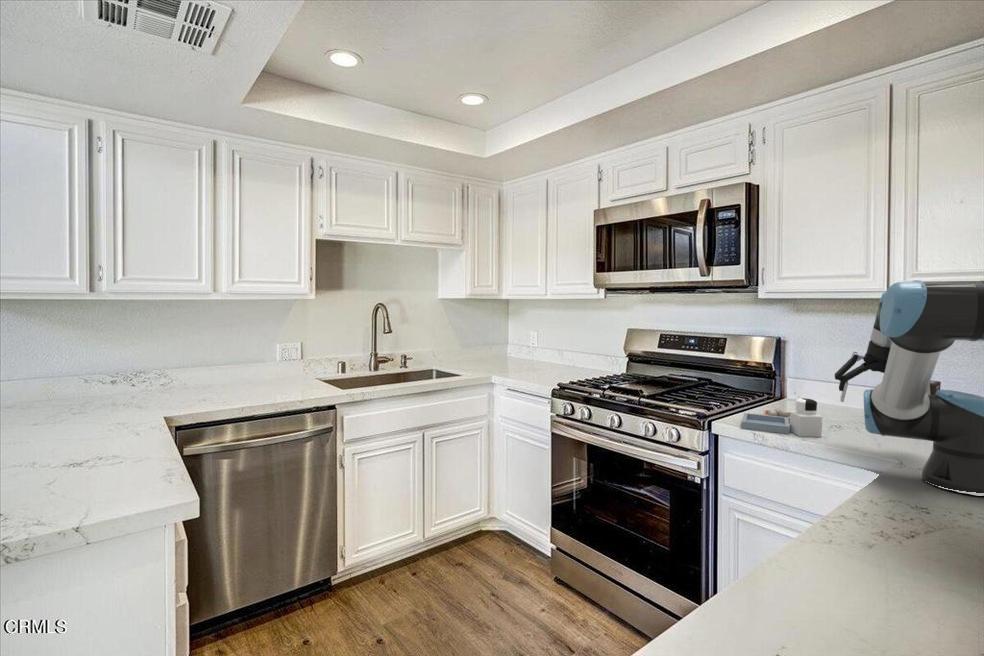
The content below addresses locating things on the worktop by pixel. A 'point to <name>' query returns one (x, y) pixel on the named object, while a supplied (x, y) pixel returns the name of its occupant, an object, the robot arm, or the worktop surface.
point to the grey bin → (765, 423)
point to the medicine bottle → (805, 419)
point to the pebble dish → (765, 412)
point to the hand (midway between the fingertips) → (868, 404)
